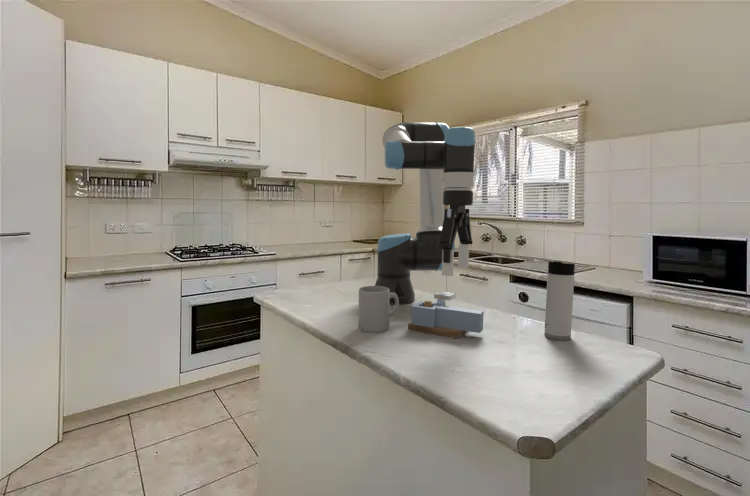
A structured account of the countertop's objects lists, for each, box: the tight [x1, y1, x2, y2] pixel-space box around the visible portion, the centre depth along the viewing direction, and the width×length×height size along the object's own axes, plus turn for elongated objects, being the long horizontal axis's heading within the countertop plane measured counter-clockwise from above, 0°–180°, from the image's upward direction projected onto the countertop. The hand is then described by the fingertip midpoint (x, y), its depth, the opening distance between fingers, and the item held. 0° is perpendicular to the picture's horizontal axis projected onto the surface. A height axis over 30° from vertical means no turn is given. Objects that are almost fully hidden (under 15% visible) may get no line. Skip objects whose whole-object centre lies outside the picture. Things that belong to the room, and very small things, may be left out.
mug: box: [357, 285, 400, 334], centre depth 113 cm, size 12×8×11 cm
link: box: [410, 301, 485, 334], centre depth 110 cm, size 18×6×5 cm, turn 62°
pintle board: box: [407, 300, 468, 340], centre depth 113 cm, size 14×14×8 cm
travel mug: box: [543, 260, 576, 341], centre depth 105 cm, size 6×7×20 cm
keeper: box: [433, 291, 456, 306], centre depth 116 cm, size 5×5×7 cm
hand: (455, 271), depth 108 cm, fingers open, 13 cm apart
